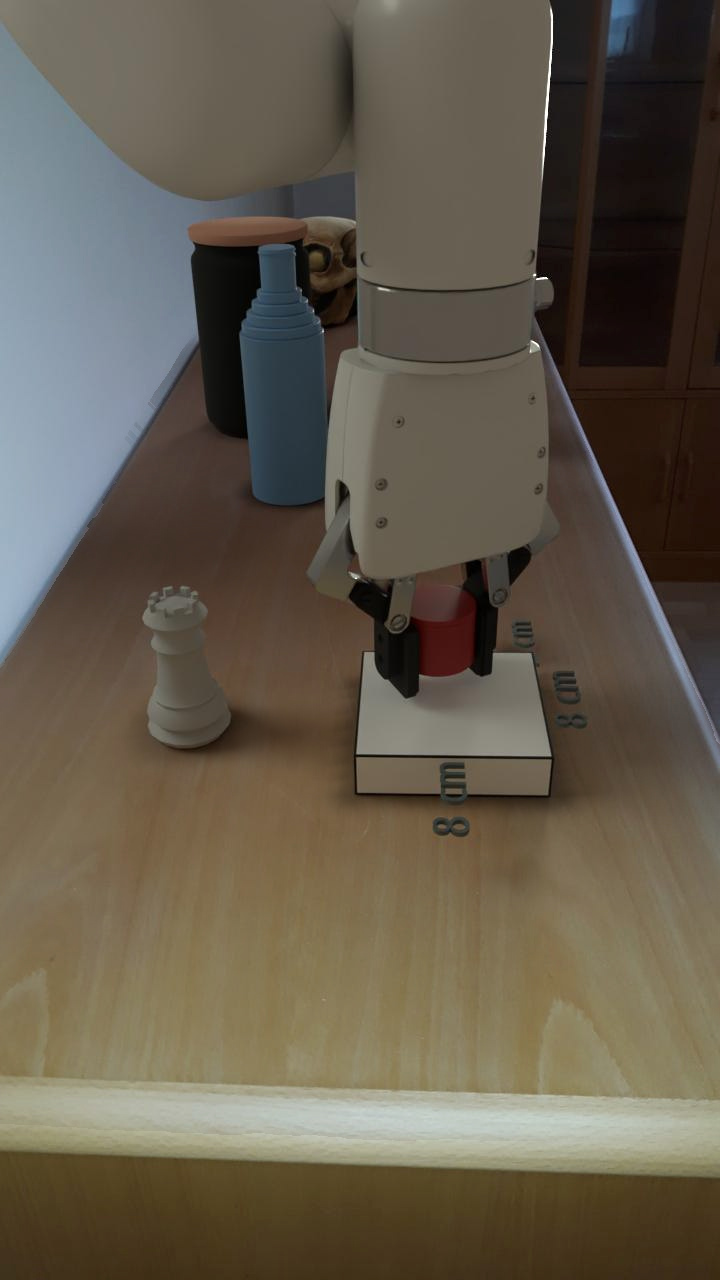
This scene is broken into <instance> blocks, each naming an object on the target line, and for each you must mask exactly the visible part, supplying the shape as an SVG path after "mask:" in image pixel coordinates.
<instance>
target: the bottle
mask: <svg viewBox="0 0 720 1280" xmlns="http://www.w3.org/2000/svg"><path fill="white" fill-rule="evenodd" d="M295 250H296V248H294V246H293V245H290V244H269V245H263V246H260V247H259V251H258V254H259V261H260V275H261V288H260V289H258V290H257V298H255V299H253V300H252V308H250V309H249V310H248V311H247V318H246V319H244V320H243V321H242V330H241V331H240V346H241V358H242V370H243V382H244V394H245V405H246V417H247V429H248V438H247V439H248V440H247V441H248V452H249V463H250V464H249V465H250V475H251V476H250V477H251V486H252V487H251V489H252V494H253V496H254V497H255V499H256V500H258V501H260V502H263V503H265V504H270V505H275V506H301V505H306V504H311V503H314V502H317V501H319V500H322V499H324V498H325V479H326V458H327V442H328V430H329V424H328V405H327V401H328V399H327V379H326V377H327V376H326V355H325V353H326V352H325V351H326V350H325V334H324V333H325V331H324V326H321V323H320V318H319V317H318V316H315V315H314V309H313V307H311V306H308V299H307V298H306V297H304V296H302V290H301V288H300V287H297V286H296V270H295V256H296V253H295Z"/></svg>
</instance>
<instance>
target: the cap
mask: <svg viewBox="0 0 720 1280" xmlns="http://www.w3.org/2000/svg"><path fill="white" fill-rule="evenodd" d="M475 622H476V601H475V599H474V597H473V596H472V595H471V594H469V593H468V592H466V591H464V590H462V589H460V588H456V587H455V586H452V585H446V584H428V585H421V586H418V587H417V586H416V587H415V593H414V599H413V605H412V611H411V617H410V624H411V625H414V626H415V627H416V628H417V629H418V631H419V634H420V660H419V674H420V675H424V676H430V677H446V676H451V675H455V674H458V673H461V672H463V671H465V670H466V669H467V668H469V667H470V666H471V664H472V663H473V660H474V645H475Z"/></svg>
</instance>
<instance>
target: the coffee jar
mask: <svg viewBox="0 0 720 1280" xmlns="http://www.w3.org/2000/svg"><path fill="white" fill-rule="evenodd" d="M307 233H308V225H307V223H306V222H304V221H302V220H300V219H298V218H293V217H283V216H237V217H225V218H215V219H210V220H205V221H200V222H196V223H193V224H191V225H190V226H188V227H187V234H188V238H189V240H190V242H192V244H193V245H194V250H193V252H192V254H191V255H190V267H191V269H190V270H191V279H192V289H193V298H194V306H195V308H194V309H195V316H196V326H197V327H196V328H197V336H198V345H199V354H200V355H199V356H200V363H201V374H202V383H203V392H204V393H203V394H204V402H205V412H206V415H207V418H208V420H209V422H210V423H211V424H212V425H213V426H214V428H215V430H217V431H218V432H219V433H222V434H224V435H227V436H231V437H236V438H243V439H244V438H245V439H248V429H247V417H246V405H245V394H244V382H243V370H242V358H241V346H240V331H241V330H242V321H243V320H244V319H246V318H247V311H248V310H249V309H250V308H252V300H253V299H255V298H257V290H258V289H260V288H261V275H260V261H259V254H258V251H259V247H260V246H263V245H269V244H290V245H293V246H294V248H296V250H295V253H296V256H295V270H296V286H297V287H300V288H301V290H302V296H304V297H306V298H307V299H308V306H311V307H312V304H311V282H310V260H309V253H308V251H307V250H306V248H305V247H304V246H303V240H304V238H305V236H306V235H307Z"/></svg>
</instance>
